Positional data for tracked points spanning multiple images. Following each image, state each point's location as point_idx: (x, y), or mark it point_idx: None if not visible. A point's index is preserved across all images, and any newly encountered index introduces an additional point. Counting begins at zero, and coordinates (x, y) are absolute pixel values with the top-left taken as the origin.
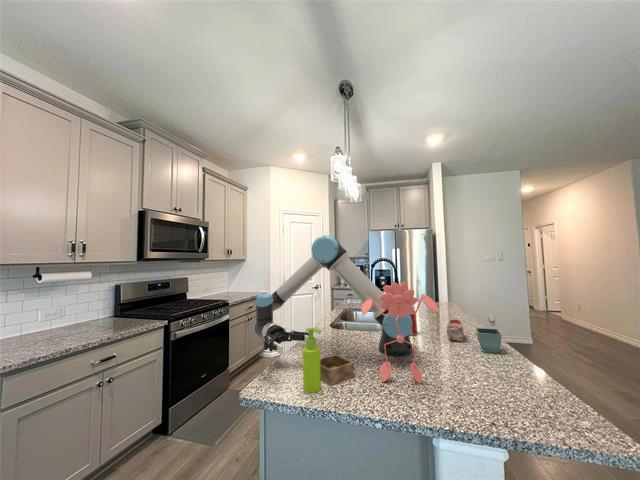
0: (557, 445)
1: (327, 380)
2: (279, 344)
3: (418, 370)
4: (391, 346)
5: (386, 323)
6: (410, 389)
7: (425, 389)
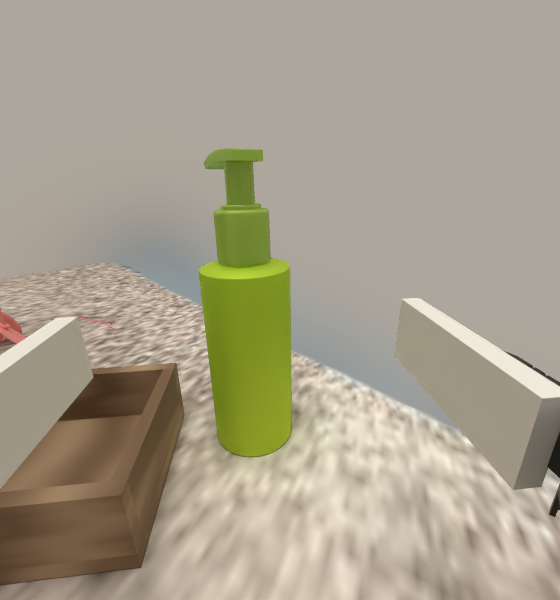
0: (129, 270)
1: (178, 414)
2: (438, 322)
3: None
4: None
5: None
6: None
7: None
